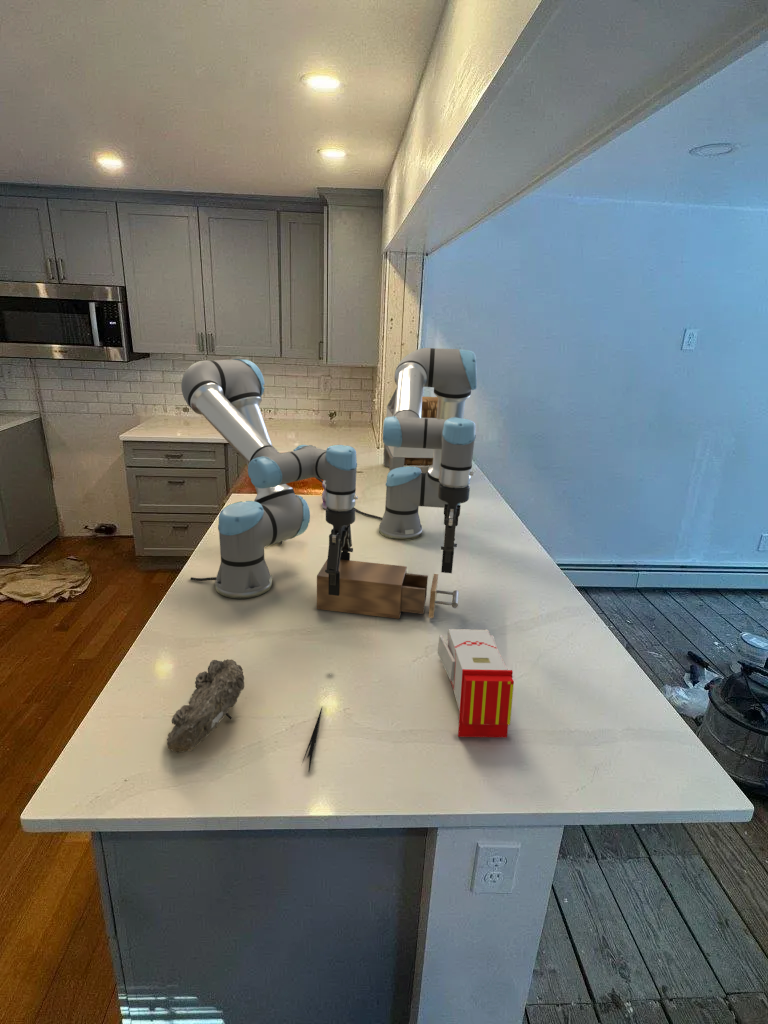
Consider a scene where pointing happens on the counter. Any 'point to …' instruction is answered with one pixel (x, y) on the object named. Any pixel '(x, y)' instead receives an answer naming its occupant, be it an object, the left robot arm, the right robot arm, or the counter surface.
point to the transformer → (411, 455)
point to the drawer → (422, 594)
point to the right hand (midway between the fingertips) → (446, 571)
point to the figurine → (324, 495)
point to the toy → (478, 682)
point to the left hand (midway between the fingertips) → (339, 584)
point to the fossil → (206, 705)
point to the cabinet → (363, 589)
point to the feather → (313, 740)
